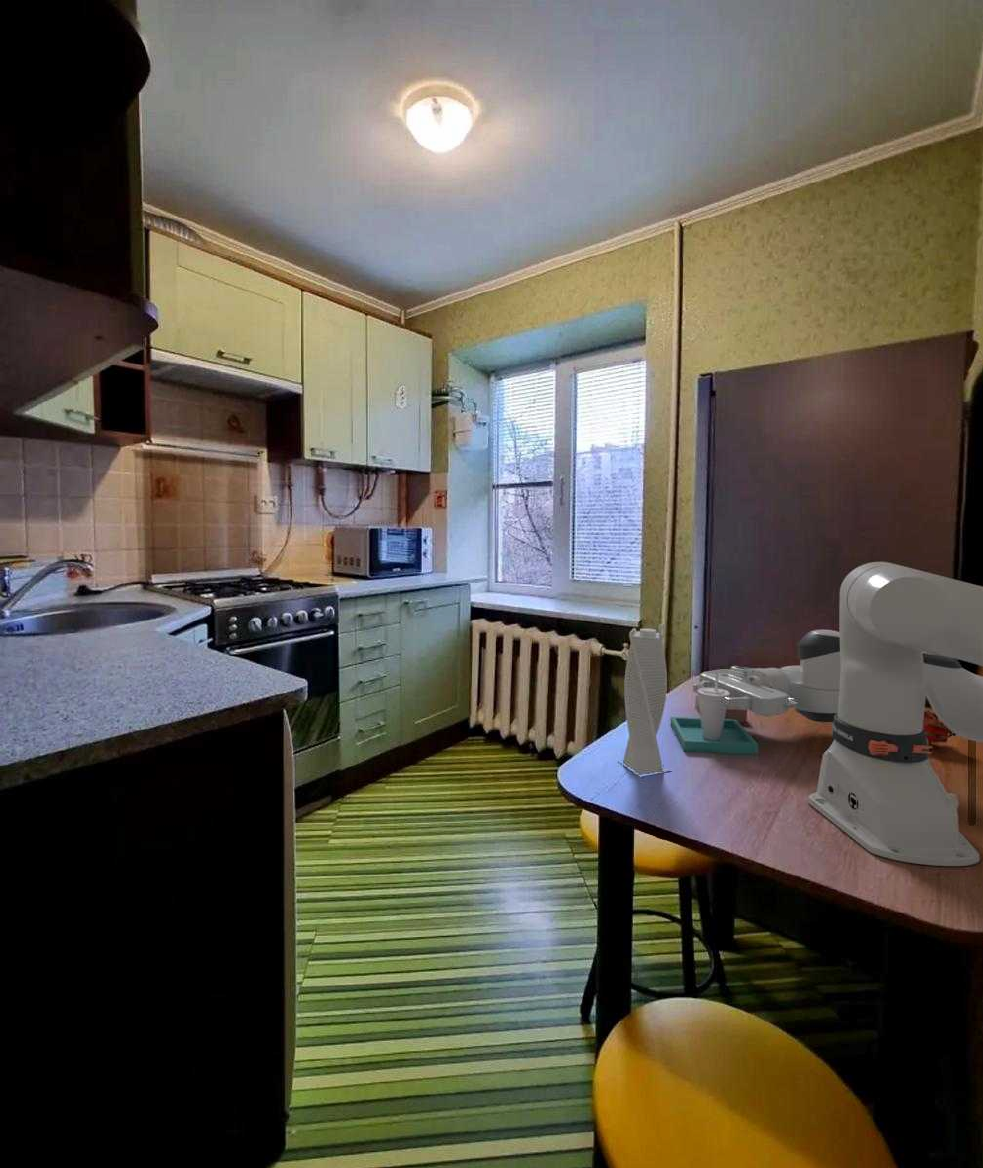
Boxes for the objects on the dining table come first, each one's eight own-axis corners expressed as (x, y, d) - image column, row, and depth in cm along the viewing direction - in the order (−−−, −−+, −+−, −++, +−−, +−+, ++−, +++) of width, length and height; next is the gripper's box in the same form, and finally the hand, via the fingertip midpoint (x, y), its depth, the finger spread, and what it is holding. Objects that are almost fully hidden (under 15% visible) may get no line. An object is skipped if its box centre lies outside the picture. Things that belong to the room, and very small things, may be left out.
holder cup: (746, 722, 127) (747, 709, 127) (704, 720, 128) (705, 707, 128) (734, 709, 136) (734, 697, 136) (695, 707, 137) (695, 695, 137)
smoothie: (733, 742, 114) (736, 675, 113) (701, 742, 114) (704, 675, 113) (720, 731, 120) (723, 667, 119) (690, 731, 120) (693, 667, 119)
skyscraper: (676, 776, 101) (683, 623, 98) (639, 783, 98) (645, 626, 95) (647, 757, 109) (652, 615, 106) (612, 764, 106) (616, 618, 103)
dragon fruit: (877, 739, 122) (946, 764, 113) (875, 726, 116) (947, 751, 107) (891, 705, 123) (960, 727, 115) (889, 690, 118) (962, 712, 109)
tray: (757, 755, 109) (758, 744, 109) (683, 751, 111) (684, 741, 111) (735, 728, 123) (736, 719, 123) (670, 725, 125) (670, 716, 125)
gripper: (802, 720, 111) (746, 727, 106) (729, 690, 130) (679, 696, 126) (804, 689, 110) (747, 695, 106) (731, 663, 129) (680, 668, 125)
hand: (709, 695), depth 116 cm, fingers open, 8 cm apart
